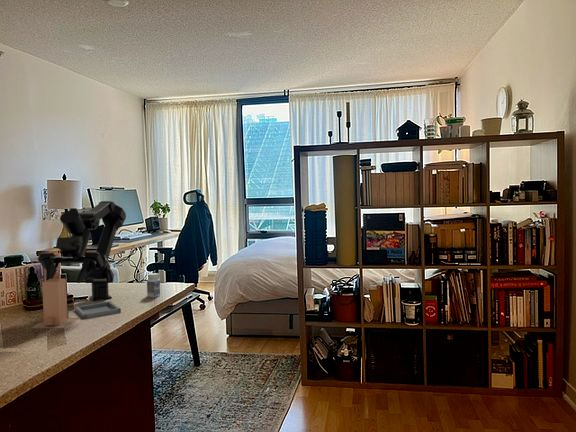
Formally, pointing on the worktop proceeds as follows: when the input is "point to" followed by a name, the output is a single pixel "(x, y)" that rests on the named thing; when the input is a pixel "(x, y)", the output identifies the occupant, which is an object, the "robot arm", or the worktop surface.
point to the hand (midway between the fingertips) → (62, 282)
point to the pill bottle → (153, 285)
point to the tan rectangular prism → (54, 301)
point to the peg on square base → (63, 325)
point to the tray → (97, 309)
